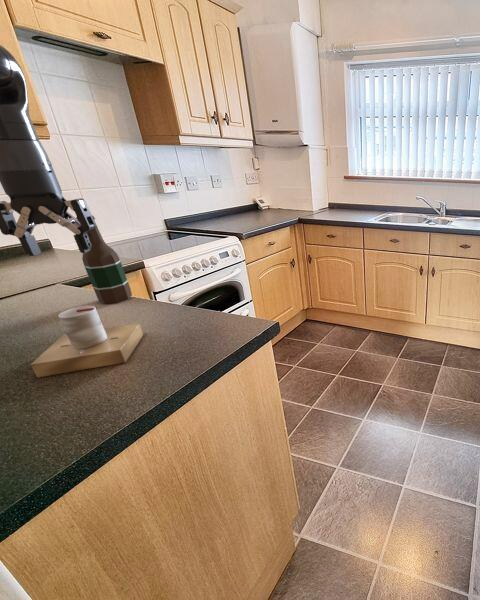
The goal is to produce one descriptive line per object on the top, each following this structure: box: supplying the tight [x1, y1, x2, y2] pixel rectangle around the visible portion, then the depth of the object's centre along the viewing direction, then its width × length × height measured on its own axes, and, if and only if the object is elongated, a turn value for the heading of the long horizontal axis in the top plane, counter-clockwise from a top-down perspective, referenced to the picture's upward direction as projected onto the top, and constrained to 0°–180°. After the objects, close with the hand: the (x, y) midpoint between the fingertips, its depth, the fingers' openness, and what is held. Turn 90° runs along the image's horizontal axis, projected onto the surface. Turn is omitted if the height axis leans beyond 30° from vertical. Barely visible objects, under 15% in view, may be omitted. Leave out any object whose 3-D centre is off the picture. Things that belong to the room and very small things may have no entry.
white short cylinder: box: [57, 305, 107, 349], centre depth 68 cm, size 6×6×7 cm
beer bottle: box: [75, 214, 133, 305], centre depth 93 cm, size 8×8×24 cm
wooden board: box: [30, 323, 144, 378], centre depth 70 cm, size 14×12×3 cm
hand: (61, 253), depth 68 cm, fingers open, 8 cm apart
